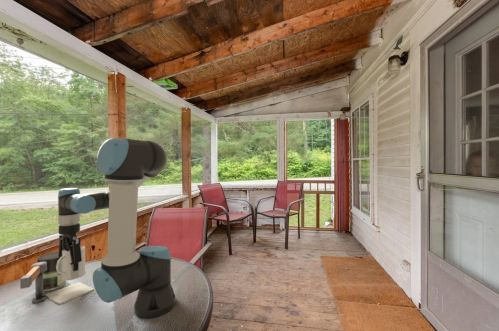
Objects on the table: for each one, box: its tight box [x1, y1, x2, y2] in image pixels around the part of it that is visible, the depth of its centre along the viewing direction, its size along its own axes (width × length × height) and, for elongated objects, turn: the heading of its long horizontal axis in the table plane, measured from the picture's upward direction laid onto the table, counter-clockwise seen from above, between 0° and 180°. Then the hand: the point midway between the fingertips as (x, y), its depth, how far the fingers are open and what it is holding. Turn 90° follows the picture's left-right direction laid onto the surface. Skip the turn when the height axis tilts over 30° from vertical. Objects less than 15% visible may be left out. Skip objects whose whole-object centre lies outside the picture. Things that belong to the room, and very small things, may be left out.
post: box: [31, 272, 47, 304], centre depth 99 cm, size 4×4×12 cm
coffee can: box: [36, 251, 67, 292], centre depth 111 cm, size 10×10×14 cm
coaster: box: [45, 281, 95, 306], centre depth 104 cm, size 13×13×1 cm
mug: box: [56, 245, 86, 281], centre depth 104 cm, size 12×8×12 cm
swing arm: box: [19, 262, 47, 290], centre depth 93 cm, size 17×5×4 cm, turn 26°
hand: (69, 275), depth 104 cm, fingers closed on mug, 8 cm apart
